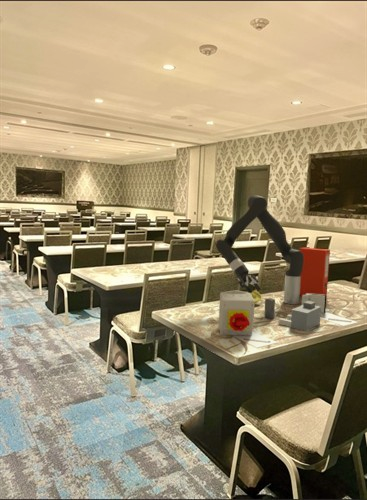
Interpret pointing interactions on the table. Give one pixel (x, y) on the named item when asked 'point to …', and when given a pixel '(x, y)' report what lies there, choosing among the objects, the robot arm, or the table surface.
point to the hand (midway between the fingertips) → (255, 291)
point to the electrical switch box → (236, 313)
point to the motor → (303, 316)
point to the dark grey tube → (269, 308)
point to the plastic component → (256, 296)
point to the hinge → (316, 300)
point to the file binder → (314, 271)
